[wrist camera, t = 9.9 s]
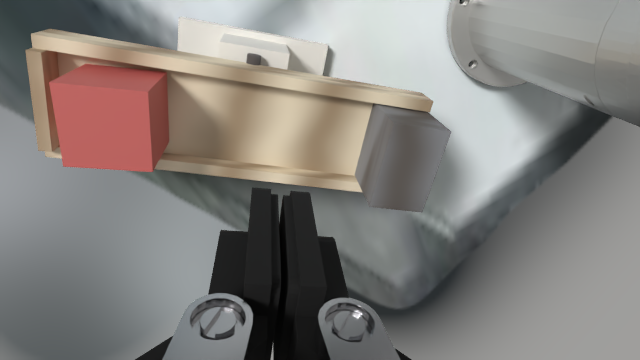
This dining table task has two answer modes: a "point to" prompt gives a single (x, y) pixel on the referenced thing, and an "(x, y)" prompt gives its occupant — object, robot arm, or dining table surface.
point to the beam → (264, 120)
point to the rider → (111, 117)
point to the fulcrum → (250, 46)
